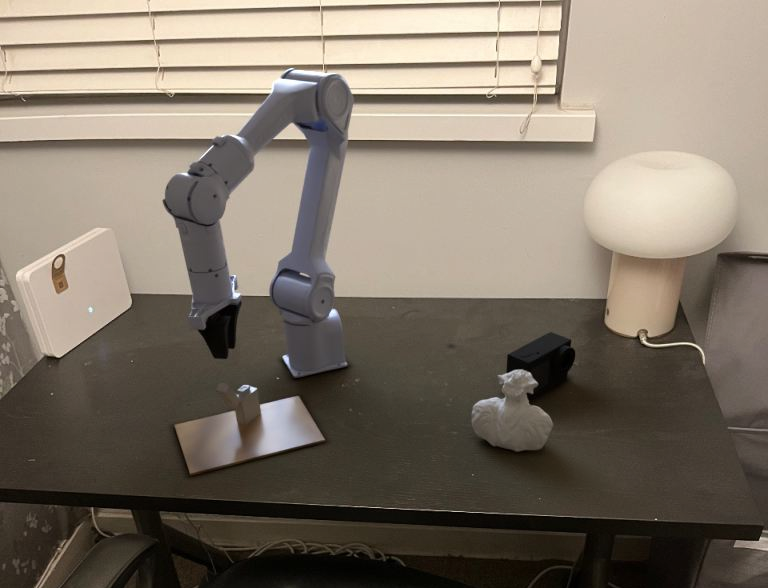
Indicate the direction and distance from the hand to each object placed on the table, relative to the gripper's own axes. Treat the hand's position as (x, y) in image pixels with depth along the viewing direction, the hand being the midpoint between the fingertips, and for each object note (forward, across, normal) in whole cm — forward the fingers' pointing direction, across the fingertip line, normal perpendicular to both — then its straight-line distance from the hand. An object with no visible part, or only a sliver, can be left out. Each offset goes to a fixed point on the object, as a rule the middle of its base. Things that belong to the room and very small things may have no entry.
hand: (224, 352), depth 116 cm
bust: (+10, -4, -44) cm, 45 cm away
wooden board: (+9, -8, -5) cm, 13 cm away
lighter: (+9, -5, -3) cm, 11 cm away
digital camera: (+10, +11, -47) cm, 50 cm away
